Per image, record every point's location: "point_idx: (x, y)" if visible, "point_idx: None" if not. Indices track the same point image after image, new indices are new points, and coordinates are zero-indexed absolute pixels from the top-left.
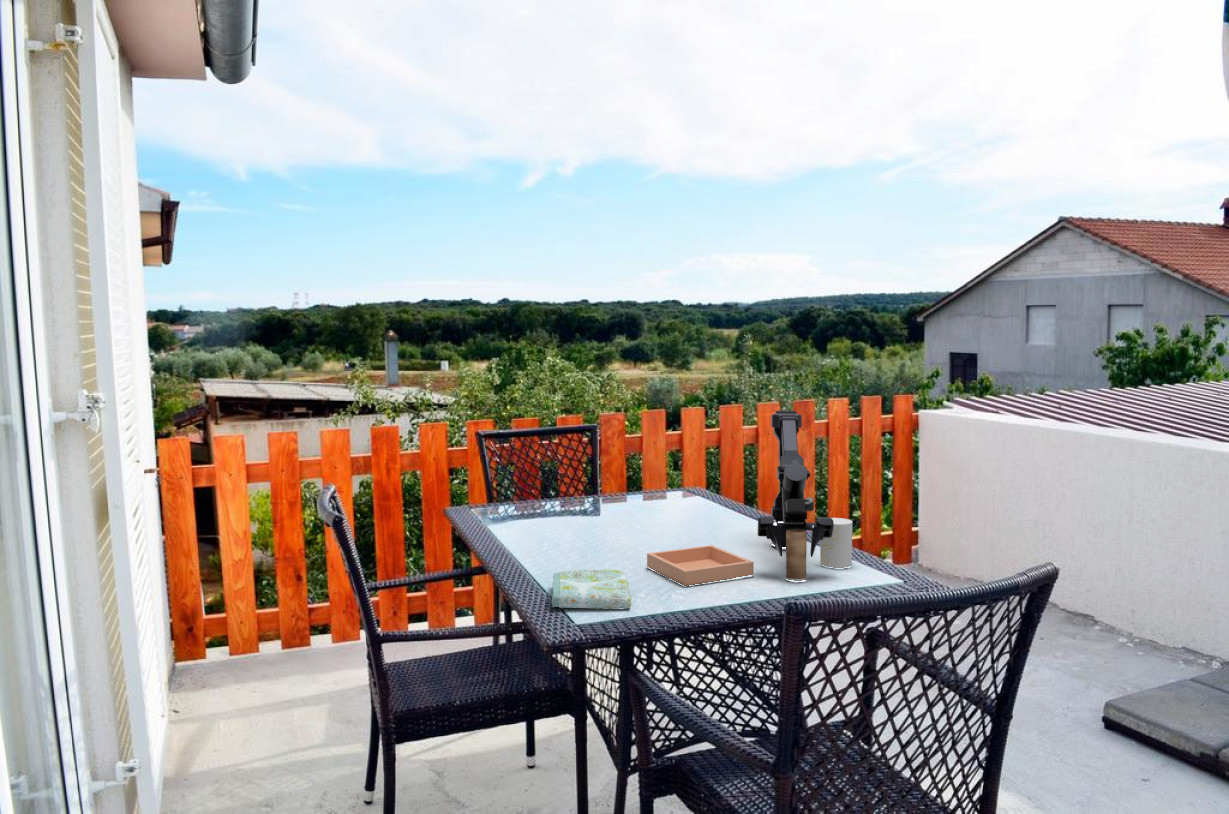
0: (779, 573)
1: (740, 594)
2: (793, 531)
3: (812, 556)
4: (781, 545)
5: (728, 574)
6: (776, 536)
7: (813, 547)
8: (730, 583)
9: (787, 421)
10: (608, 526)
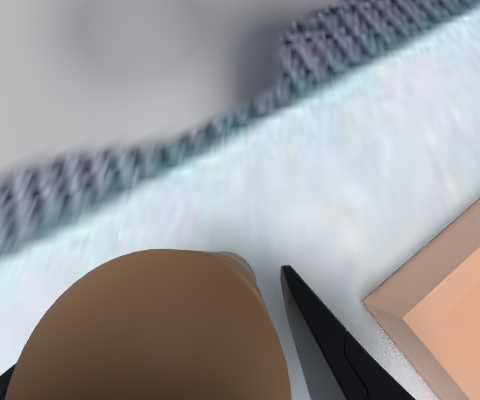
0: None
1: (363, 128)
2: (189, 378)
3: None
4: (299, 306)
5: (449, 242)
6: (378, 383)
7: None
8: (415, 220)
9: None
10: None
